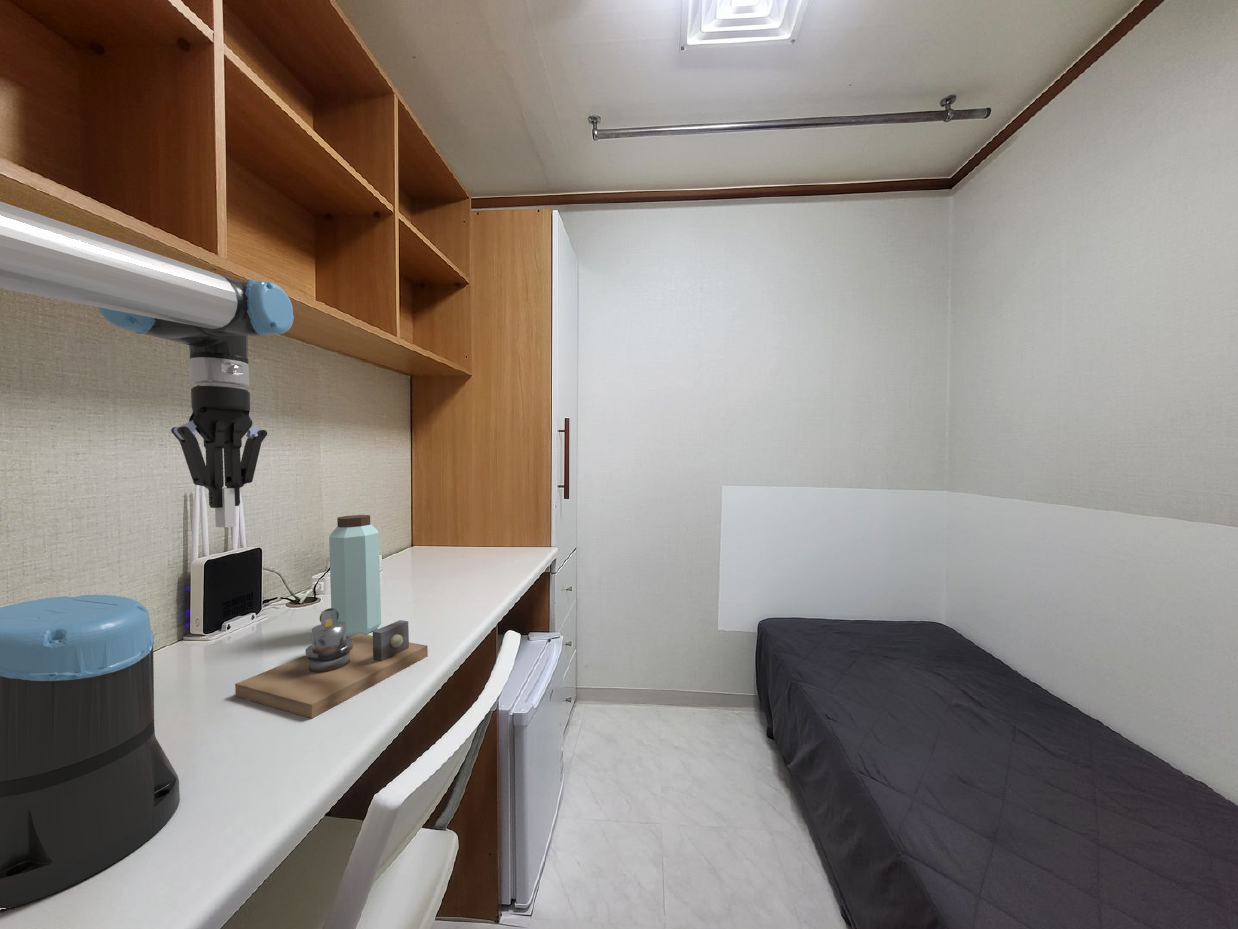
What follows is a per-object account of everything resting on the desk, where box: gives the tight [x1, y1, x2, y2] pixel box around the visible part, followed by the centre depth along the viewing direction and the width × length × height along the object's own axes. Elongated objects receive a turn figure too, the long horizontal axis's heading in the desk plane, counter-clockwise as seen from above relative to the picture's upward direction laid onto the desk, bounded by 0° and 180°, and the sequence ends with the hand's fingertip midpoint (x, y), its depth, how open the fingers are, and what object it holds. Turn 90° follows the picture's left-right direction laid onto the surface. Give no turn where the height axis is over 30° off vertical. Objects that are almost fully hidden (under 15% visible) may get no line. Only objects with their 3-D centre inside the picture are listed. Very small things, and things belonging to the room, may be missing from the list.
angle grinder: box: [305, 607, 353, 661], centre depth 84 cm, size 16×7×5 cm, turn 32°
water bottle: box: [328, 514, 382, 638], centre depth 100 cm, size 10×10×25 cm
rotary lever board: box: [234, 619, 429, 719], centre depth 80 cm, size 22×18×7 cm
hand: (225, 526), depth 78 cm, fingers closed
